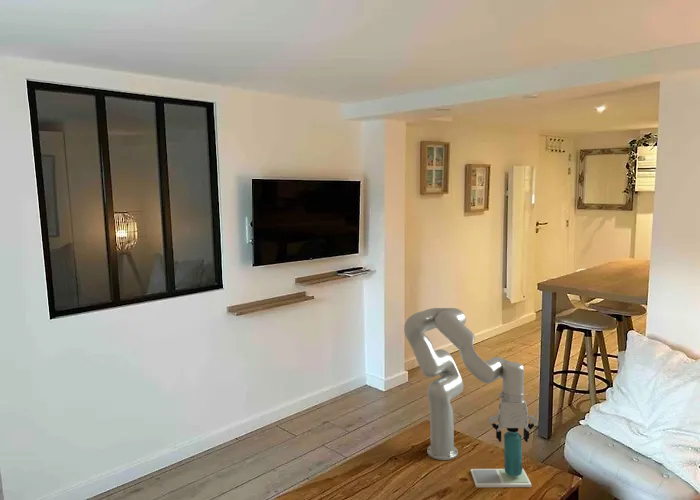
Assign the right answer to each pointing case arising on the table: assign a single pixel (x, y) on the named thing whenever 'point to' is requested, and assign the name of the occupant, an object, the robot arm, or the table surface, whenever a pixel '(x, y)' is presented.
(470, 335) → the robot arm
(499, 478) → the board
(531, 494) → the table surface
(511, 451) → the beverage bottle
